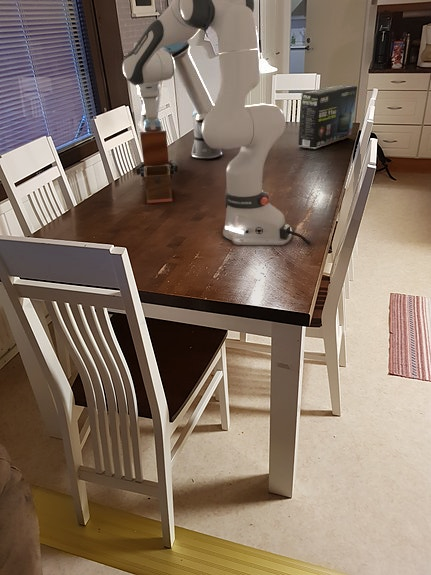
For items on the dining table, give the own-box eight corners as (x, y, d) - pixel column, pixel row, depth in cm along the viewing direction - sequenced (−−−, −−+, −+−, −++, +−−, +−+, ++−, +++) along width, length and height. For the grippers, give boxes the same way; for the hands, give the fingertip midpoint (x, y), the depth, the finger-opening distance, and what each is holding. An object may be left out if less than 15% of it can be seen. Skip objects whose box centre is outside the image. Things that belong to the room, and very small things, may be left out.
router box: (314, 151, 231) (318, 94, 217) (296, 148, 237) (299, 92, 224) (352, 138, 251) (358, 85, 238) (335, 135, 258) (340, 83, 245)
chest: (172, 201, 177) (170, 174, 172) (147, 203, 176) (144, 176, 171) (171, 189, 189) (168, 164, 184) (147, 191, 188) (144, 166, 183)
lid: (166, 132, 172) (164, 119, 177) (140, 133, 171) (139, 121, 176) (168, 164, 183) (167, 151, 188) (144, 165, 182) (143, 153, 187)
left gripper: (182, 167, 204) (186, 182, 185) (131, 170, 202) (130, 187, 183) (181, 150, 201) (184, 164, 182) (129, 153, 198) (128, 168, 179)
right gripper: (140, 85, 179) (144, 122, 186) (140, 93, 161) (144, 133, 169) (156, 84, 180) (160, 121, 187) (158, 92, 162) (162, 132, 169)
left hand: (157, 175), depth 182 cm, fingers closed on chest, 10 cm apart
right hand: (153, 127), depth 177 cm, fingers open, 5 cm apart
